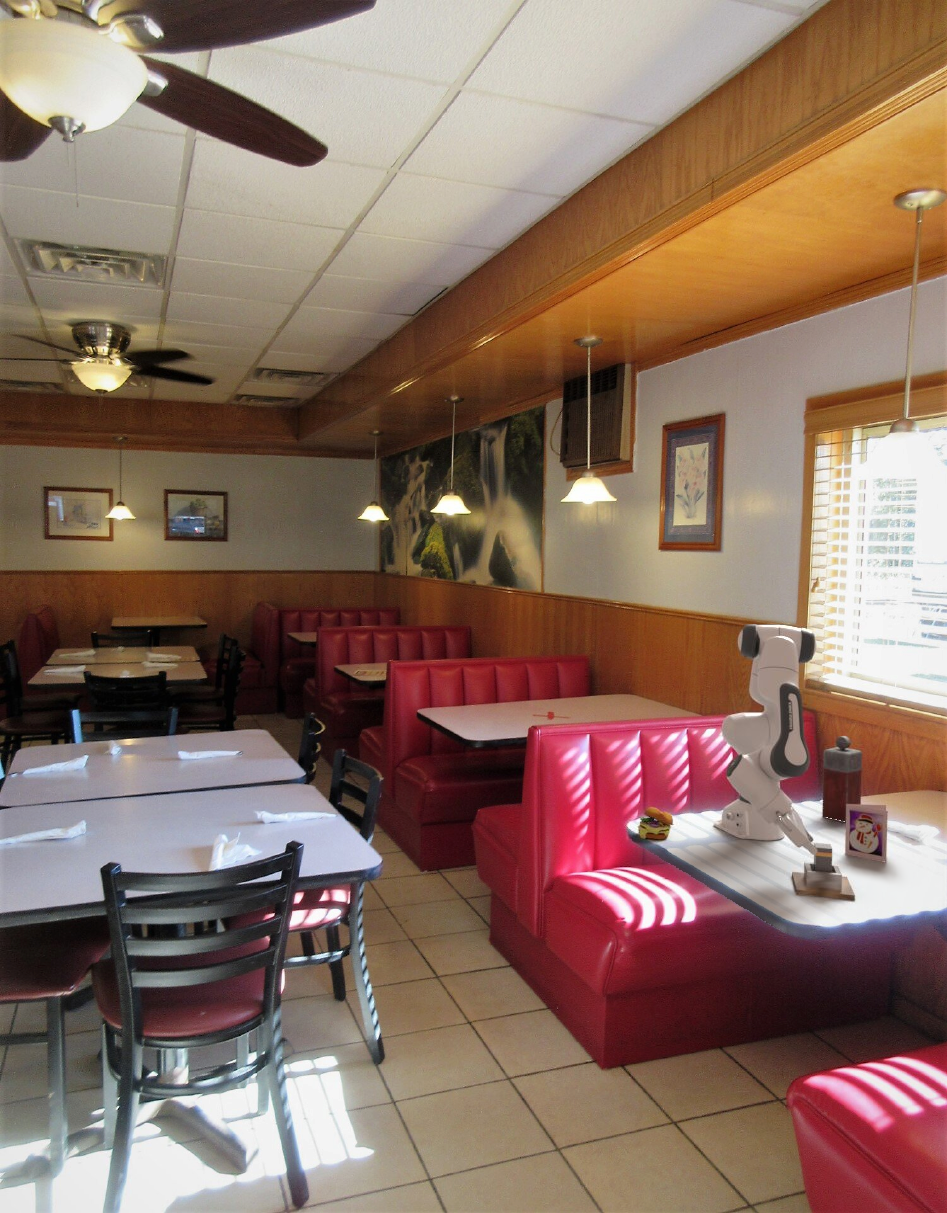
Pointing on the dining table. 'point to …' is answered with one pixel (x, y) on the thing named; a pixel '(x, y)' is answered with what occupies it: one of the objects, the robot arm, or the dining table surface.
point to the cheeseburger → (655, 824)
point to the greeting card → (866, 831)
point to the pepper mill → (841, 779)
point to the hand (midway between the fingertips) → (813, 846)
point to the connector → (823, 858)
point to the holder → (822, 883)
